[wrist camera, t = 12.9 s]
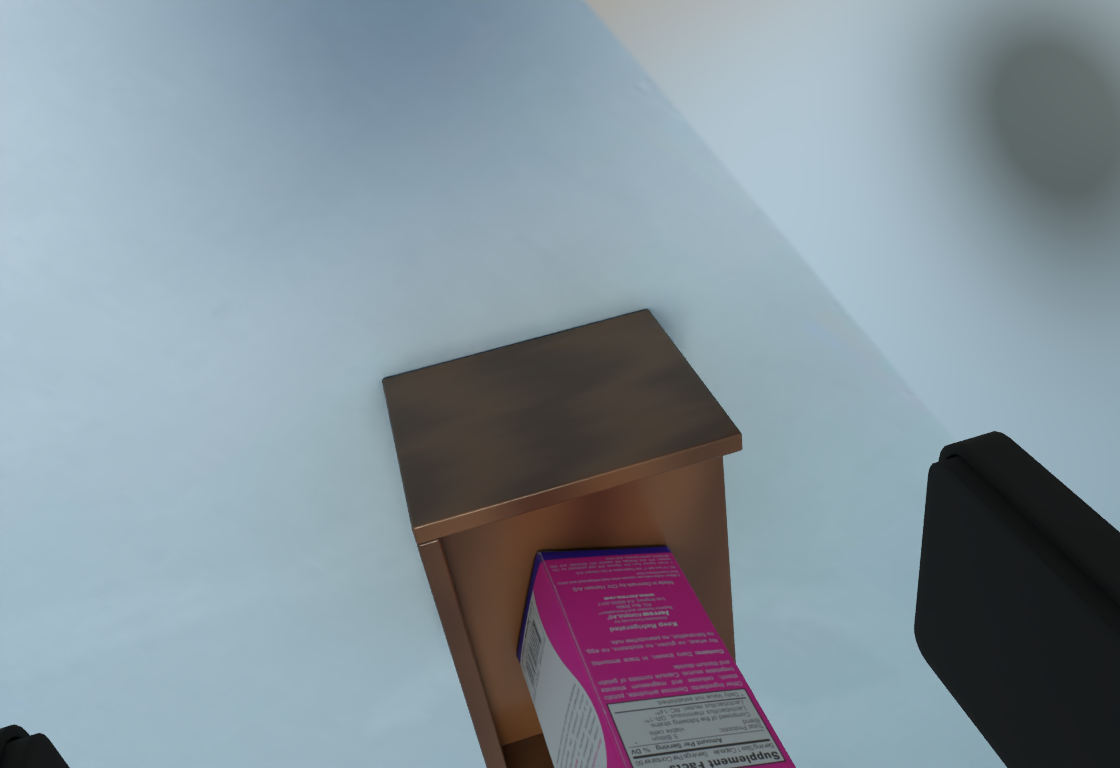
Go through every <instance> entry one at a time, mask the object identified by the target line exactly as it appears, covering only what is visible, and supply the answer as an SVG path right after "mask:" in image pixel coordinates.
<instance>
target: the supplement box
mask: <svg viewBox="0 0 1120 768" xmlns="http://www.w3.org/2000/svg"><path fill="white" fill-rule="evenodd" d="M516 656H517V659H518V661H519V663H520V665H521V668H522V672H523V675H524V678H525V680H526V683H527V686H528V689H529V692H530V695H531V698H532V701H533V704H534V707H535V710H536V713H537V716H538V719H539V722H540V725H541V728H542V731H543V734H544V738H545V741H546V744H547V747H548V750H549V753H550V756H551V759H552V762H553V765H554V768H796V767H795V765H794V764H793V762H792V760H791V759H790V757H789V755H788V753H787V752H786V750H785V748H784V747H783V745H782V743H781V741H780V740H779V738H778V736H777V734H776V733H775V731H774V729H773V727H772V726H771V724H770V722H769V720H768V719H767V717H766V715H765V713H764V712H763V710H762V708H761V707H760V705H759V703H758V702H757V700H756V698H755V696H754V694H753V692H752V690H751V689H750V687H749V686H748V684H747V682H746V681H745V679H744V677H743V675H742V674H741V672H740V670H739V669H738V667H737V665H736V663H735V662H734V660H733V658H732V656H731V655H730V653H729V651H728V649H727V648H726V646H725V644H724V642H723V641H722V639H721V637H720V636H719V634H718V632H717V631H716V629H715V627H714V625H713V623H712V622H711V620H710V618H709V617H708V615H707V613H706V611H705V610H704V608H703V606H702V604H701V603H700V601H699V599H698V597H697V595H696V594H695V592H694V590H693V588H692V587H691V585H690V583H689V582H688V580H687V578H686V577H685V575H684V573H683V571H682V569H681V568H680V566H679V564H678V563H677V561H676V559H675V557H674V556H673V554H672V552H671V550H670V548H669V547H667V546H663V547H645V548H625V549H604V550H580V551H546V552H544V551H540V552H538V553H537V555H536V558H535V562H534V566H533V572H532V576H531V581H530V586H529V591H528V596H527V602H526V607H525V612H524V618H523V623H522V628H521V634H520V640H519V645H518V650H517V655H516Z"/></svg>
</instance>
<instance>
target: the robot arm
mask: <svg viewBox="0 0 1120 768" xmlns="http://www.w3.org/2000/svg"><path fill="white" fill-rule="evenodd" d="M914 633H915V638H916V642H917V644H918V647H919V650H920V652H921V654H922V656H923V657H924V659H925V660H926V662H927V663H928V664H929V666H930V667H931V668H932V670H933V671H934V672H935V674H936V675H937V676H938V678H939V679H940V680H941V681H942V683H943V684H944V685H945V687H946V688H947V689H948V691H949V692H950V693H951V694H952V696H953V697H954V698H955V700H956V701H957V702H958V704H959V705H960V706H961V708H962V709H963V710H964V711H965V713H966V714H967V715H968V717H969V718H970V719H971V721H972V722H973V723H974V725H975V726H976V727H977V728H978V730H979V731H980V732H981V734H982V735H983V736H984V738H985V739H986V740H987V742H988V743H989V744H990V745H991V747H992V748H993V749H994V751H995V752H996V753H997V755H998V756H999V757H1000V759H1001V760H1002V761H1003V762H1004V764H1005V765H1006V766H1007V768H1120V532H1119V531H1118V530H1116V529H1115V528H1114V527H1113V526H1112V525H1111V524H1109V523H1108V522H1107V521H1106V520H1105V519H1103V518H1102V517H1101V516H1100V515H1099V514H1098V513H1097V512H1095V511H1094V510H1093V509H1092V508H1091V507H1090V506H1089V505H1087V504H1086V503H1085V502H1084V501H1083V500H1082V499H1080V498H1079V497H1078V496H1077V495H1076V494H1074V493H1073V492H1072V491H1071V490H1070V489H1069V488H1067V487H1066V486H1065V485H1064V484H1063V483H1062V482H1061V481H1059V480H1058V479H1057V478H1056V477H1055V476H1054V475H1052V474H1051V473H1050V472H1049V471H1048V470H1047V469H1045V468H1044V467H1043V466H1042V465H1041V464H1040V463H1039V462H1037V461H1036V460H1035V459H1034V458H1033V457H1032V456H1030V455H1029V454H1028V453H1027V452H1026V451H1024V450H1023V449H1022V448H1021V447H1020V446H1019V445H1017V444H1016V443H1015V442H1014V441H1013V440H1012V439H1011V438H1009V437H1008V436H1006V435H1005V434H1003V433H1001V432H996V431H993V432H990V433H987V434H984V435H980V436H977V437H974V438H970V439H967V440H963V441H960V442H957V443H953V444H950V445H947V446H945V447H944V448H943V449H942V451H941V453H940V457H939V462H937V463H933V464H932V465H931V467H930V469H929V473H928V482H927V493H926V504H925V515H924V526H923V537H922V548H921V558H920V569H919V580H918V591H917V602H916V613H915V624H914ZM0 768H69V766H68V765H67V764H66V762H65V761H64V759H63V758H62V757H61V755H60V754H59V752H58V751H57V750H56V748H55V747H54V745H53V744H52V743H51V741H50V740H49V739H48V738H47V737H46V736H45V735H44V734H41V733H37V734H34V735H31V736H30V735H29V734H28V733H27V732H26V731H25V730H24V729H23V728H22V727H20V726H17V725H11V726H7V727H4V728H1V729H0Z"/></svg>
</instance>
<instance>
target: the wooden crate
mask: <svg viewBox="0 0 1120 768" xmlns="http://www.w3.org/2000/svg"><path fill="white" fill-rule="evenodd" d="M382 383H383V388H384V393H385V398H386V403H387V408H388V413H389V418H390V423H391V428H392V433H393V438H394V443H395V448H396V453H397V458H398V463H399V468H400V472H401V477H402V482H403V487H404V492H405V497H406V502H407V507H408V512H409V517H410V522H411V527H412V531H413V534H414V537H415V540H416V543H417V547H418V550H419V553H420V556H421V559H422V563H423V566H424V569H425V572H426V575H427V579H428V582H429V585H430V588H431V591H432V595H433V598H434V601H435V604H436V607H437V611H438V614H439V617H440V620H441V623H442V627H443V630H444V633H445V636H446V639H447V642H448V646H449V649H450V652H451V655H452V658H453V662H454V665H455V668H456V671H457V674H458V678H459V681H460V684H461V687H462V690H463V694H464V697H465V700H466V703H467V706H468V709H469V713H470V716H471V719H472V722H473V725H474V729H475V732H476V735H477V738H478V741H479V745H480V748H481V751H482V754H483V757H484V761H485V764H486V767H487V768H554V765H553V762H552V759H551V756H550V753H549V750H548V747H547V744H546V741H545V738H544V734H543V731H542V728H541V725H540V722H539V719H538V716H537V713H536V710H535V707H534V704H533V701H532V698H531V695H530V692H529V689H528V686H527V683H526V680H525V678H524V675H523V672H522V668H521V665H520V663H519V661H518V659H517V656H516V655H517V650H518V645H519V640H520V634H521V628H522V623H523V618H524V612H525V607H526V602H527V596H528V591H529V586H530V581H531V576H532V572H533V566H534V562H535V558H536V555H537V553H538V552H540V551H544V552H546V551H580V550H604V549H625V548H645V547H663V546H667V547H669V548H670V550H671V552H672V554H673V556H674V557H675V559H676V561H677V563H678V564H679V566H680V568H681V569H682V571H683V573H684V575H685V577H686V578H687V580H688V582H689V583H690V585H691V587H692V588H693V590H694V592H695V594H696V595H697V597H698V599H699V601H700V603H701V604H702V606H703V608H704V610H705V611H706V613H707V615H708V617H709V618H710V620H711V622H712V623H713V625H714V627H715V629H716V631H717V632H718V634H719V636H720V637H721V639H722V641H723V642H724V644H725V646H726V648H727V649H728V651H729V653H730V655H731V656H732V658H733V660H734V662H735V663H736V659H735V643H734V627H733V612H732V596H731V580H730V564H729V548H728V533H727V517H726V501H725V485H724V470H723V456H724V455H727V454H730V453H734V452H737V451H741V450H742V434H741V432H740V431H739V430H738V428H737V427H736V426H735V424H734V423H733V422H732V420H731V419H730V417H729V416H728V415H727V413H726V412H725V411H724V409H723V408H722V407H721V405H720V404H719V403H718V401H717V400H716V399H715V397H714V396H713V395H712V393H711V392H710V391H709V389H708V388H707V387H706V385H705V384H704V383H703V381H702V380H701V379H700V377H699V376H698V375H697V373H696V372H695V371H694V369H693V368H692V367H691V365H690V364H689V363H688V361H687V360H686V359H685V357H684V356H683V355H682V353H681V352H680V351H679V349H678V348H677V347H676V345H675V344H674V343H673V341H672V340H671V339H670V337H669V336H668V335H667V333H666V332H665V331H664V329H663V328H662V327H661V325H660V324H659V323H658V321H657V320H656V319H655V317H654V316H653V315H652V313H651V312H650V311H649V310H648V309H646V310H643V311H639V312H635V313H631V314H628V315H624V316H620V317H616V318H612V319H609V320H605V321H601V322H597V323H594V324H590V325H586V326H582V327H578V328H575V329H571V330H567V331H563V332H559V333H556V334H552V335H548V336H544V337H541V338H537V339H533V340H529V341H525V342H522V343H518V344H514V345H510V346H507V347H503V348H499V349H495V350H491V351H488V352H484V353H480V354H476V355H473V356H469V357H465V358H461V359H457V360H454V361H450V362H446V363H442V364H439V365H435V366H431V367H427V368H423V369H420V370H416V371H412V372H408V373H405V374H401V375H397V376H393V377H389V378H386V379H383V380H382Z"/></svg>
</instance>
